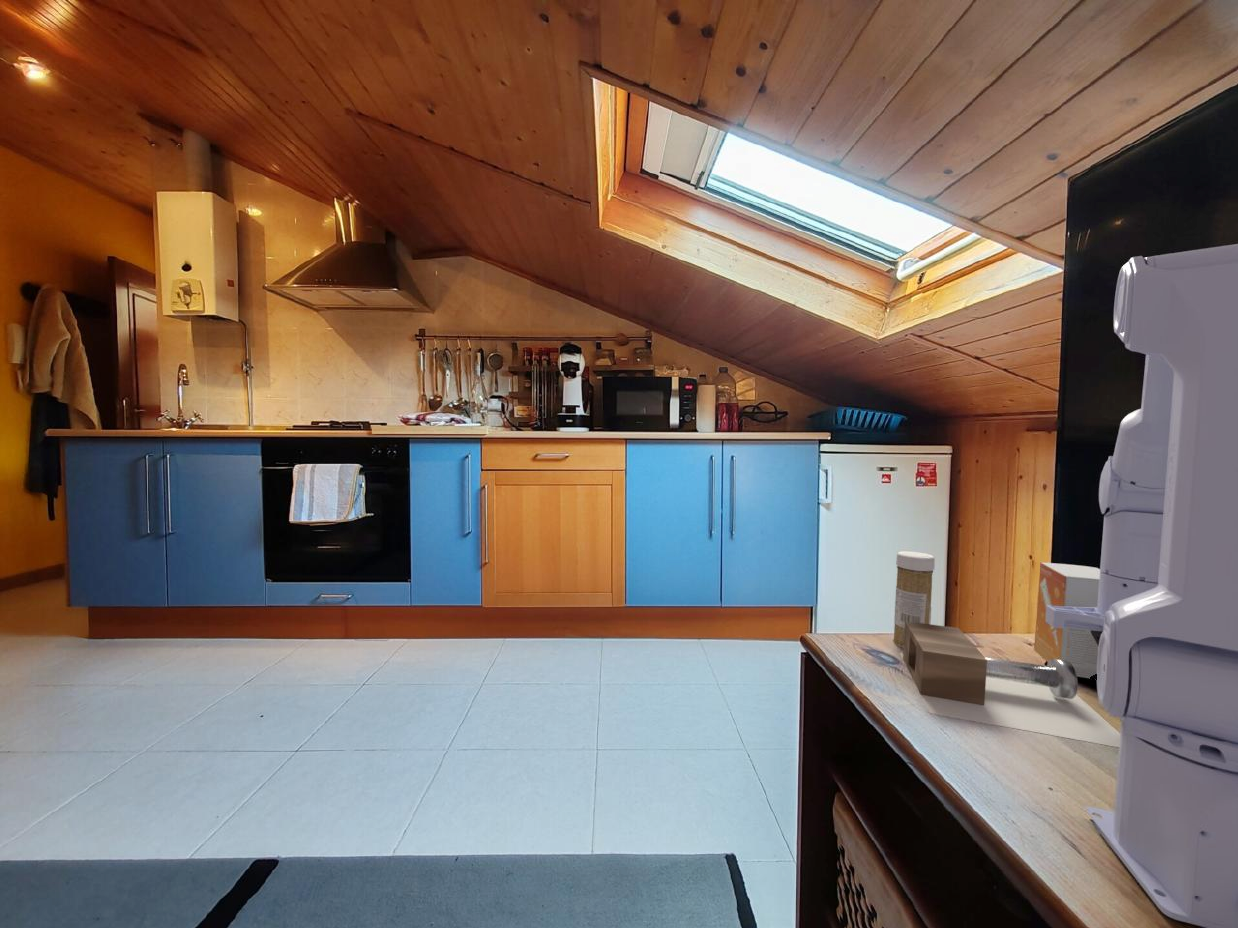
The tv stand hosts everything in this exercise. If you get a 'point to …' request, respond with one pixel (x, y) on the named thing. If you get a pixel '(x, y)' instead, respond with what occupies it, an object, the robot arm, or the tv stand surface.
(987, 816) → the tv stand surface
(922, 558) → the sprinkles bottle
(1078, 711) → the board
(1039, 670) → the pin
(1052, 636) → the small box
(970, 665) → the block
